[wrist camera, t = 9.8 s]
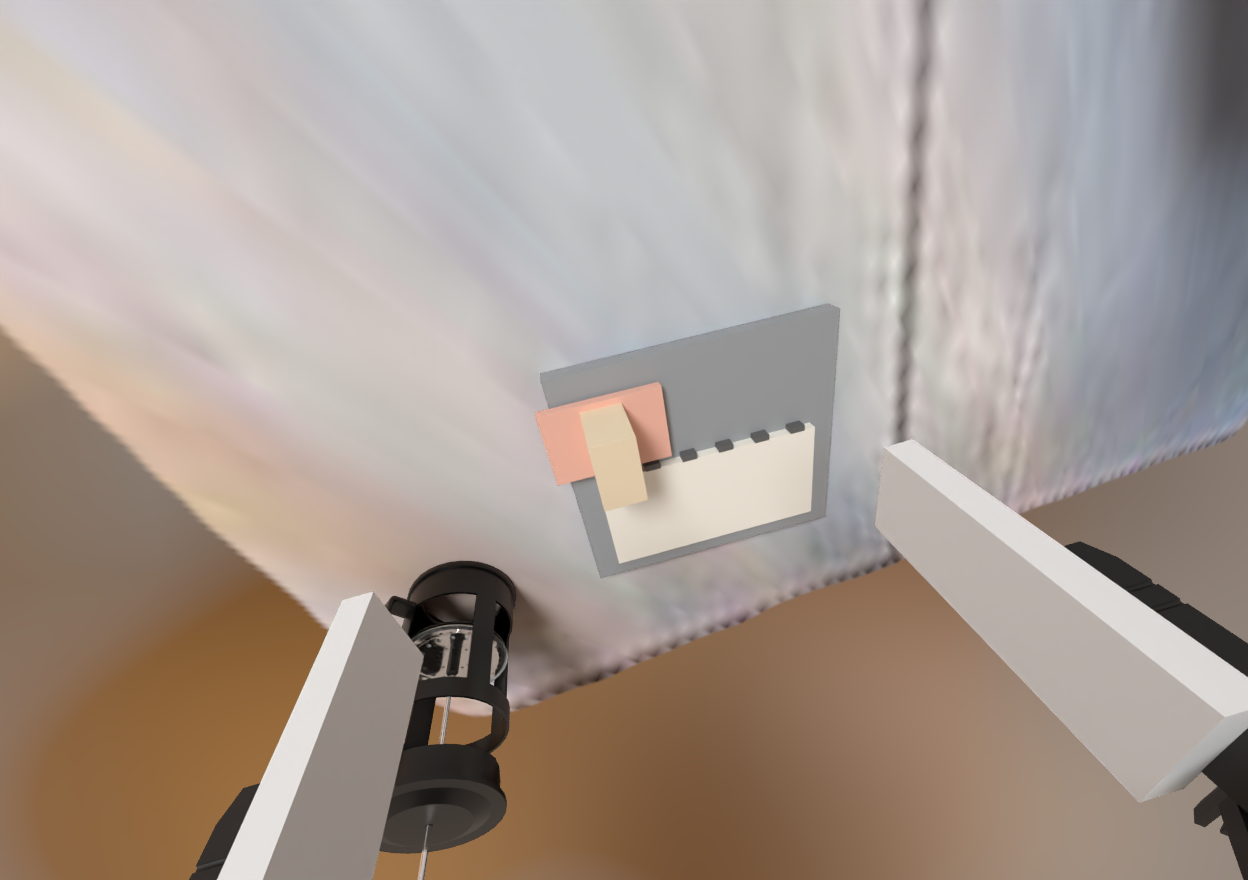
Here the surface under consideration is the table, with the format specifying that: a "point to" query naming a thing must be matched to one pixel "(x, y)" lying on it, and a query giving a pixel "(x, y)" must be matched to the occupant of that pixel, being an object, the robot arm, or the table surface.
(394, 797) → the french press
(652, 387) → the stub
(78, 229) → the table surface
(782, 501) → the board
